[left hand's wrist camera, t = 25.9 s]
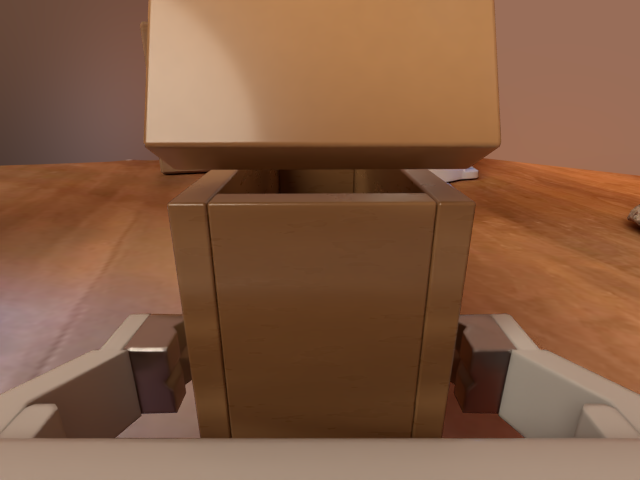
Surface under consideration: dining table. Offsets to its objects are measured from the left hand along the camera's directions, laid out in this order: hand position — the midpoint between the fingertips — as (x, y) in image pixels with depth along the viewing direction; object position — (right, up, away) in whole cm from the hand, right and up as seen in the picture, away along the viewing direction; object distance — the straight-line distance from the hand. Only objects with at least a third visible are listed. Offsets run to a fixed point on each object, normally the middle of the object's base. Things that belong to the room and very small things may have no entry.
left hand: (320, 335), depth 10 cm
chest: (0, -4, +6) cm, 7 cm away
